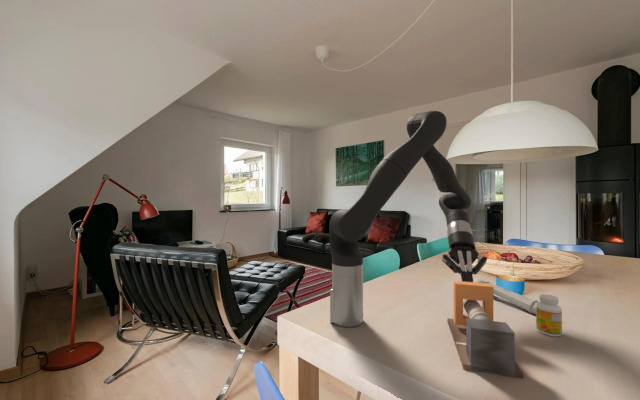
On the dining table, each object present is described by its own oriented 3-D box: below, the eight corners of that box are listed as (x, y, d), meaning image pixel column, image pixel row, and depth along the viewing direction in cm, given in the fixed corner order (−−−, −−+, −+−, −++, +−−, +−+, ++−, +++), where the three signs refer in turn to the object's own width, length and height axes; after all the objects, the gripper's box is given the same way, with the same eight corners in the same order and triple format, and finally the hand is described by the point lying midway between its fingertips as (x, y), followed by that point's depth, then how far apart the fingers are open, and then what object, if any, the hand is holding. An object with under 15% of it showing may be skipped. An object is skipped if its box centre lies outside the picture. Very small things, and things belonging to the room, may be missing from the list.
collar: (455, 324, 75) (455, 283, 75) (453, 319, 78) (453, 280, 78) (493, 329, 72) (493, 286, 72) (490, 324, 75) (490, 283, 75)
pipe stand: (463, 368, 60) (463, 325, 60) (447, 321, 82) (447, 290, 82) (523, 378, 56) (523, 332, 56) (489, 326, 79) (489, 294, 79)
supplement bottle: (531, 327, 79) (531, 293, 79) (550, 327, 78) (551, 293, 78) (546, 337, 73) (546, 300, 73) (567, 337, 73) (567, 300, 73)
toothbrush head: (541, 307, 84) (471, 274, 107) (537, 327, 85) (469, 291, 108) (552, 305, 86) (482, 273, 109) (549, 325, 87) (480, 289, 110)
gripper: (439, 229, 92) (444, 276, 80) (484, 230, 88) (497, 280, 76) (437, 243, 97) (442, 289, 85) (480, 245, 93) (491, 293, 81)
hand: (468, 285), depth 80 cm, fingers closed
